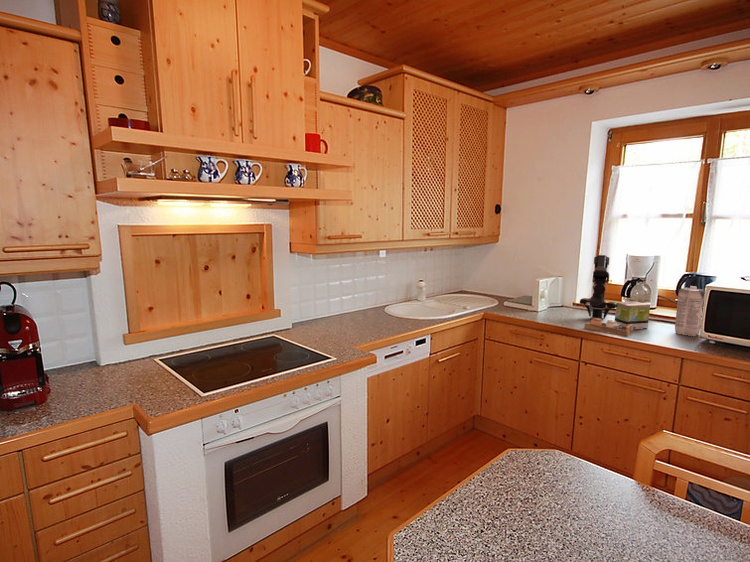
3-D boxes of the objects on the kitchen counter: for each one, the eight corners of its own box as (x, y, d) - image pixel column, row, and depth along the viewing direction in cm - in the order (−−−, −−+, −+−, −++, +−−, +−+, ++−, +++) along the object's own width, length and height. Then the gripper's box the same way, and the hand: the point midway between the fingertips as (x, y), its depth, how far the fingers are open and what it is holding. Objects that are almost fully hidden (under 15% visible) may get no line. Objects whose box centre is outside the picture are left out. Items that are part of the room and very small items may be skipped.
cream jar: (607, 329, 243) (608, 319, 242) (617, 331, 239) (618, 321, 238) (604, 331, 239) (605, 321, 238) (614, 333, 235) (615, 322, 234)
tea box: (627, 330, 240) (630, 305, 238) (613, 326, 250) (615, 302, 247) (648, 328, 244) (650, 304, 242) (633, 324, 254) (635, 300, 251)
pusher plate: (618, 330, 239) (619, 323, 239) (623, 331, 238) (624, 324, 237) (615, 333, 235) (615, 325, 234) (620, 334, 233) (620, 326, 232)
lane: (590, 325, 252) (590, 317, 251) (632, 332, 236) (633, 324, 235) (584, 328, 245) (584, 320, 244) (627, 336, 229) (628, 327, 228)
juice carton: (695, 337, 226) (701, 288, 222) (672, 333, 234) (677, 286, 230) (700, 335, 231) (706, 286, 227) (678, 330, 239) (684, 284, 235)
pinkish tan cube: (592, 326, 249) (593, 317, 248) (602, 328, 245) (603, 318, 244) (589, 328, 245) (590, 318, 244) (599, 330, 241) (600, 320, 240)
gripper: (577, 291, 242) (575, 317, 245) (612, 295, 229) (610, 323, 232) (584, 288, 250) (582, 314, 252) (618, 292, 237) (616, 319, 239)
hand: (597, 317), depth 244 cm, fingers open, 7 cm apart
